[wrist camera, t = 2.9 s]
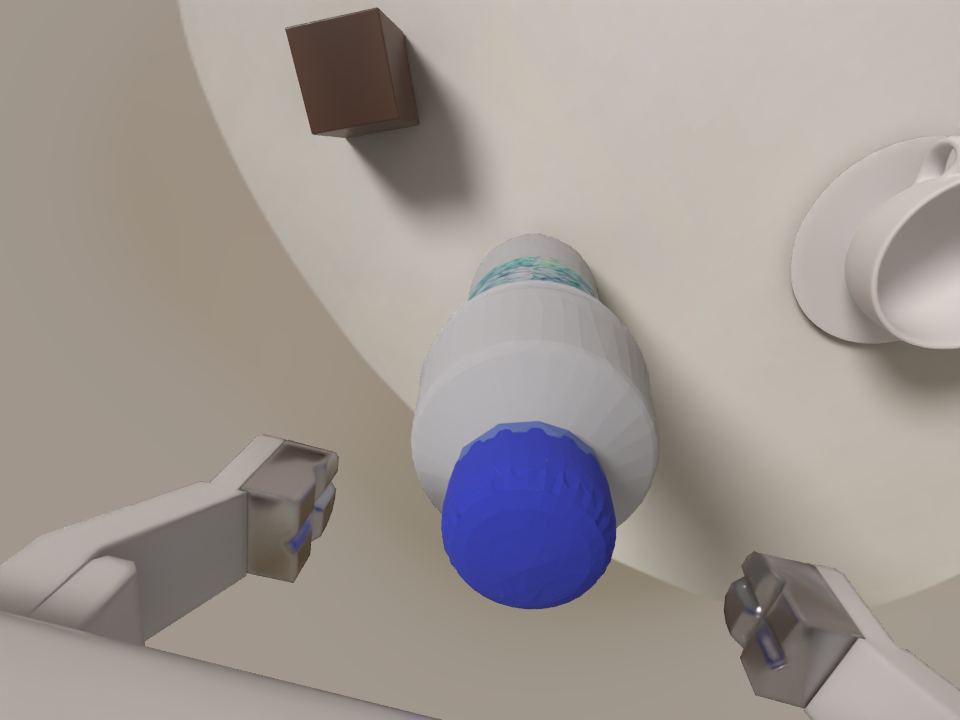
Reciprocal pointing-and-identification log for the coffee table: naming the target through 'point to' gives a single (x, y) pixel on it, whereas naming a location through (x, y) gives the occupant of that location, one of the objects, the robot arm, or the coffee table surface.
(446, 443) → the bottle
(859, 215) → the teacup
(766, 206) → the coffee table surface
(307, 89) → the walnut block
